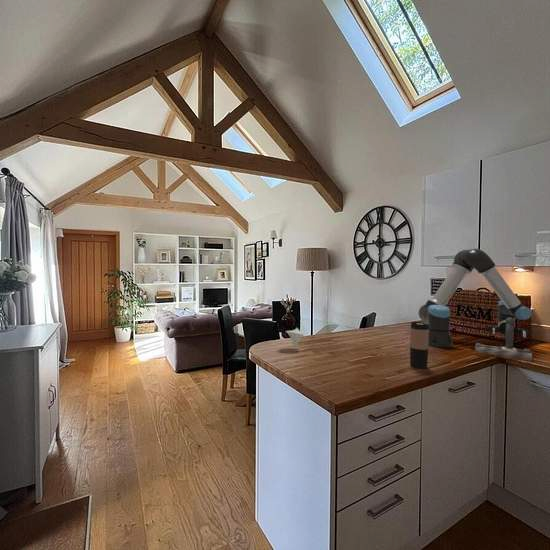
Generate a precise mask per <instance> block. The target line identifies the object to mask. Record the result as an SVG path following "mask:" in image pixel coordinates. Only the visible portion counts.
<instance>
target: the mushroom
mask: <svg viewBox="0 0 550 550" xmlns="http://www.w3.org/2000/svg"><path fill="white" fill-rule="evenodd" d="M285 333H287V334H288V336H289V337H290V339H291V342H292V345H293V349H294V350H296V349H297V348H296V347H297V344H298V342H299V340H300V339H301V338H302V337H304V336H305V333H303V332H302V331H300V329H299V328H298V327H296V328H295V329H292V330H285Z"/></svg>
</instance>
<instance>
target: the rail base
mask: <svg viewBox="0 0 550 550" xmlns="http://www.w3.org/2000/svg"><path fill="white" fill-rule="evenodd" d="M502 347H503V346H497V345H495V346H493V345H487V344H482V343H480V342H476V343H475V345H474V353H479V354H487V355H494V356H499V357H498V358H503V359H510V360H516V359H519V360H518V361H523V360H529V361H528V362H530V361H532V362H533V354H532V353H531V350H530V349H529V348H523V349H520V348H516V350H517V352H516V351H508V350H502ZM479 354H478V355H479ZM487 355H486V356H487ZM494 356H493V357H494Z"/></svg>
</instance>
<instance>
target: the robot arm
mask: <svg viewBox="0 0 550 550" xmlns="http://www.w3.org/2000/svg"><path fill="white" fill-rule="evenodd" d="M451 266H452V268H451V270H450V271H449V273H447V276H446V277H445V279H444V280H443V282H442V283H441V285H440V286H439V288H438V289H437V290H436V291H435V293H434V295H433V297H432V298H431V299H427V301H426V302H425V304H422V305H421V306H420V307H419V308H418V311H417V314H418V315H417V316H418V317H419V319H420V320H421V322H423V323H425V324H429V338H428V347H429V346H430V347H436V348H445V349H446V348H452V347H454V346H453V345H454V343H453V339H452V336H451V332H450V327H451V309H450V307H448V306H446V304H447V303H448V302H449V301H450V299H451V298H452V296H453V295H454V293H455V292H456V291H457V288H458V287H459V286H460V284H461V283H462V281H463V280H464V278H465V277H466V276H467V275H470V274H471V273H472V271H474V270H475V271H476V272H478V274H481V275H482V276H483V277H484V279H485V280H486V282H487V283H488V284H489V286H490V287H491V289H492V290H493V291H494V292H495V294H496V295H497V296H498V298H499V299H500V300H499V301H498V305H497V311H498V313H497V323H498V326H497V325H490V326H486V327H485V328H486V329H485V331H486V332H489V333H490V334H492V335H495V333H498V332H499V333H501V334H503V335H505V336H506V322H505V320H506V319H507V318H513V319H518V320H529V318H530V317H531V316H532V310H531V309H530V308H529V307H527V306H525V305H524V304H522V302H521V301H520V299H519V298H518V297H517V295H516V294H515V293H514V291H513V290H512V289H511V287H510V286H509V284H508V283H507V282H506V280H505V279H504V278H503V276H502V275H501V274H500V272H499V271H498V269H497V268H496V266H497V265H496V264H495V262H494V260H493V259H492V257H490V256H489V255H488V254H487V253H486V252H485V251H483V249H479V248H471V249H463V250H460V251H458V252H457V253H456V254H455V255H454V257H453V262H452V264H451ZM515 334H518V335H521V336H522V337H523V338H527V337H528V336H529V337H532V331H531V330H529V329H524V328H522V327H521V328H520V327H518V328H516V327H515V326H514V330H513V335H515Z"/></svg>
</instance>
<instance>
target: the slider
mask: <svg viewBox="0 0 550 550" xmlns="http://www.w3.org/2000/svg"><path fill="white" fill-rule="evenodd" d="M505 322H506V335H505V343H504V344H505V345H504V346H501V347H502V350H508V351H516V352H517V350H516V349H517V348H515V347H514V334H513V330H514V327H515V323H516V322H515V318H507V319H506V320H505Z"/></svg>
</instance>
